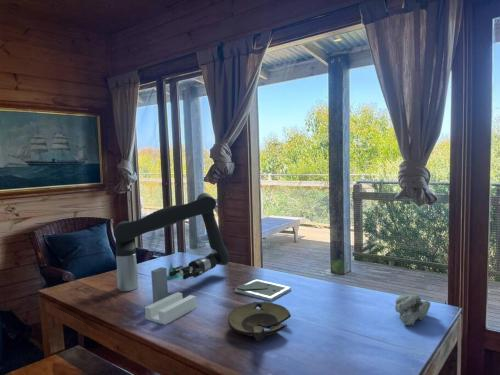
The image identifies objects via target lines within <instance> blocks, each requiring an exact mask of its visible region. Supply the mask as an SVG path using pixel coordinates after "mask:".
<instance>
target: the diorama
mask: <svg viewBox="0 0 500 375" xmlns="http://www.w3.org/2000/svg"><path fill="white" fill-rule="evenodd" d="M173 268H176V266H174V265H173V261H172V262H170V264H169V267H168V274H167V281H176V280H180V279H182V280H183V275H180V274H178V275H174V276H172V277H170V275H169V273H170V272H171V271H173ZM178 273H179V272H178ZM182 273H183V271H182Z"/></svg>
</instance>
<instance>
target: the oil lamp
mask: <svg viewBox="0 0 500 375" xmlns="http://www.w3.org/2000/svg"><path fill="white" fill-rule="evenodd" d="M258 308H259V309H258ZM291 317H292V316H291V313H290V311H289V309H288V308H286V307H285V306H283V305H281V304H277V303H274V302H271V301H266V300H264V301H254V302H253V301H252V302H250V303H246V304H243V305H240V306H238V307H236V308H234V309H233V310H232V311H230V313H229V315H228V317H227V322H228V325H229V327H230V328H231V329H232V330H233V331H235V332H237V333H239V334H243V335H246V336H249V337H253V338H255V340H256V341H257V342H261V341H264V338H265V337H268V336H271V335H274V334H276V333H279V332H280V331H282V330H283V329H285V328H286V327H287V326H288V324H282V323H283V322H286V321H287V320H288V319H290V318H291ZM265 328H270V329H269V330H265Z"/></svg>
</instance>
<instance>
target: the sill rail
mask: <svg viewBox="0 0 500 375" xmlns="http://www.w3.org/2000/svg"><path fill="white" fill-rule="evenodd" d="M197 307H198V306H197V296H196V295H193V294H189V295H188V296H186V297H183V293H182V292H178V291H177V292H174V293H173V294H171V295H168V297H166V298H164V299H162V300H159V301H157V302H155V303H153V302H152V303H151V304H149V305H146V306H145V307H144V312H145V313H144V314H145V316H144V317H145V320H148V321H151V322H154V323H157V324H158V323H159V324H161V325H165V326H166V325H167V324H168V325H169V323H171V322H173V321H175V320H177V319H178V318H180V317H182V316H184V315H185V314H187V313H189V312H191V311H193V310H195V309H197Z"/></svg>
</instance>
